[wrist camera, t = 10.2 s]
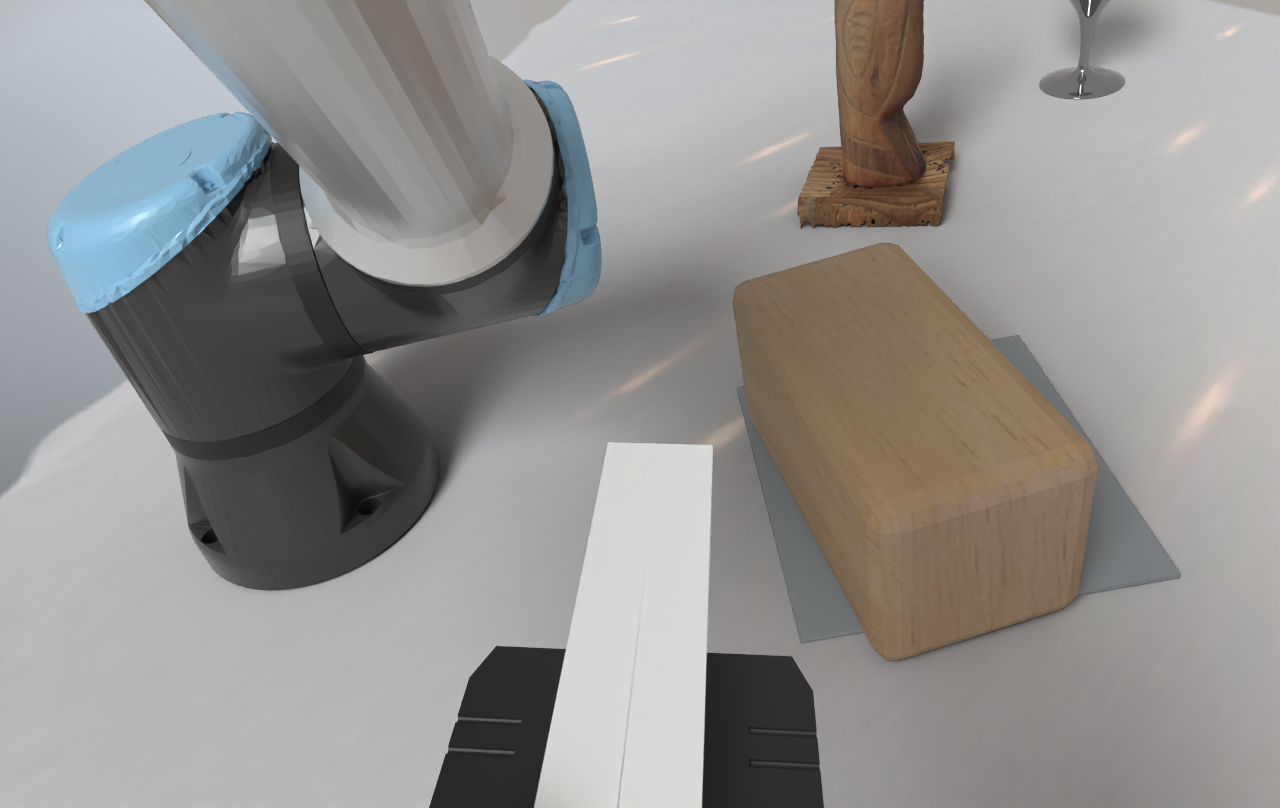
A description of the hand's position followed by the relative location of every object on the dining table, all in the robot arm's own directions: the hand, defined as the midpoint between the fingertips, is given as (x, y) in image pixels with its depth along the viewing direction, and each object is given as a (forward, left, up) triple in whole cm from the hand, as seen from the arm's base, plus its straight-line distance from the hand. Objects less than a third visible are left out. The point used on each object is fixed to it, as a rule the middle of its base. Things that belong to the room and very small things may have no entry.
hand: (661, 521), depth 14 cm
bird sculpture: (-61, +19, -29) cm, 70 cm away
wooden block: (-17, +12, -23) cm, 31 cm away
